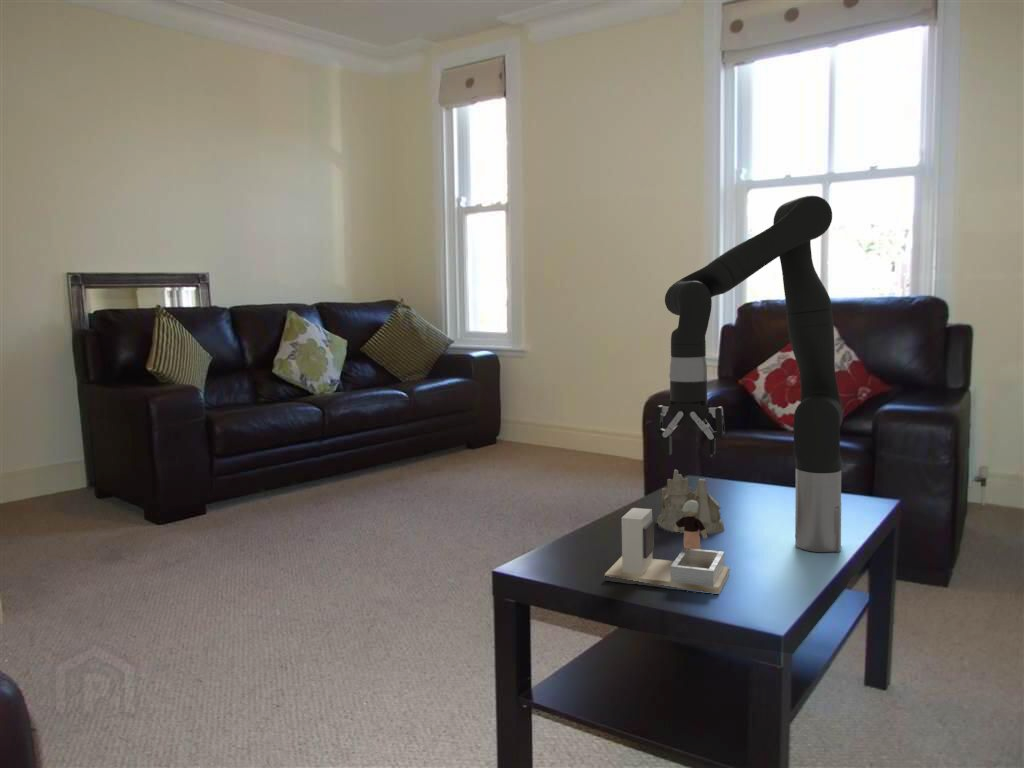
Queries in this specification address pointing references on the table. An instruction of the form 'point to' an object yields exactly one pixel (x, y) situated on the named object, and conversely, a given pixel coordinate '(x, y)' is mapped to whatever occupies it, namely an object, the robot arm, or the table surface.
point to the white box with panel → (637, 540)
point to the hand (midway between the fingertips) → (689, 455)
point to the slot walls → (694, 574)
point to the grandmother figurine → (691, 526)
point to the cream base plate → (666, 576)
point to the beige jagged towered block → (679, 496)
